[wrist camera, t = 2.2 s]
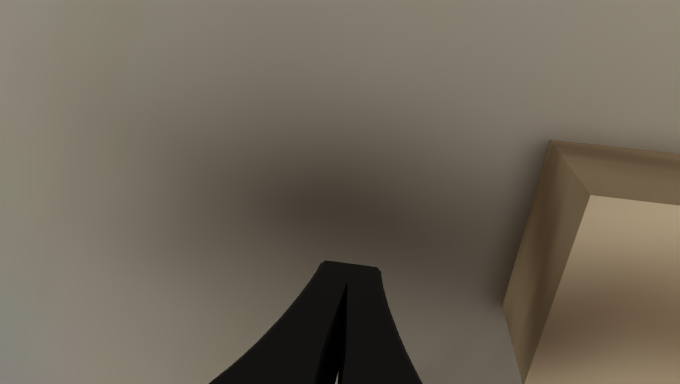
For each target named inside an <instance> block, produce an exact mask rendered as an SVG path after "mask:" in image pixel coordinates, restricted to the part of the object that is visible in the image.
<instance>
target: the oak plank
mask: <svg viewBox="0 0 680 384" xmlns="http://www.w3.org/2000/svg"><path fill="white" fill-rule="evenodd" d="M502 306H503V309H504V313H505V317H506V321H507V325H508V329H509V332H510V336H511V340H512V344H513V348H514V352H515V355H516V359H517V363H518V367H519V371H520V375H521V379H522V382H523V384H680V154H673V153H664V152H655V151H646V150H637V149H628V148H619V147H609V146H600V145H591V144H582V143H573V142H564V141H555V140H550V143H549V147H548V150H547V154H546V157H545V160H544V164H543V167H542V171H541V174H540V178H539V181H538V185H537V188H536V191H535V195H534V198H533V202H532V205H531V209H530V212H529V216H528V219H527V223H526V226H525V229H524V233H523V236H522V240H521V243H520V247H519V250H518V254H517V257H516V260H515V264H514V267H513V271H512V274H511V278H510V281H509V285H508V288H507V292H506V295H505V298H504V302H503V305H502Z"/></svg>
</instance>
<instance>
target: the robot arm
mask: <svg viewBox="0 0 680 384" xmlns="http://www.w3.org/2000/svg"><path fill="white" fill-rule="evenodd" d="M337 374H338V384H422V382H421V380H420V378H419V376H418V374H417V372H416V370H415V368H414V366H413V364H412V362H411V360H410V358H409V356H408V354H407V352H406V350H405V348H404V345H403V343H402V341H401V338H400V336H399V333H398V331H397V328H396V326H395V323H394V320H393V318H392V315H391V312H390V309H389V306H388V303H387V299H386V296H385V292H384V288H383V284H382V278H381V271H380V270H379V269H378V268H377V267H371V266H363V265H356V264H348V263H341V262H333V261H324V262H323V263H321V264H320V266H319V268H318V269H317V271H316V273H315V274H314V276H313V277H312V279H311V280H310V282H309V283H308V284H307V286H306V287H305V288H304V290H303V291H302V292H301V294H300V295H299V296H298V297H297V299H296V300H295V301H294V302H293V303H292V305H291V306H290V307H289V308H288V310H287V311H286V312H285V313H284V314H283V315H282V317H281V318H280V319H279V320H278V321H277V322H276V323H275V324H274V325H273V326H272V327H271V328H270V329H269V330H268V331H267V332H266V334H265V335H264V336H263V337H262V338H261V339H260V340H259V341H258V342H257V343H256V344H255V345H254V346H253V347H251V348H250V349H249V350H248V351H247V352H246V353H245V354H244V355H243V356H242V357H240V358H239V359H238V360H237V361H236V362H235V363H234V364H232V365H231V366H230V367H229V368H228V369H227V370H225V371H224V372H223V373H221V374H220V375H219V376H218V377H216V378H215V379H214V380H213V381H211V382H210V383H209V384H335V382H336V378H337Z"/></svg>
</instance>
